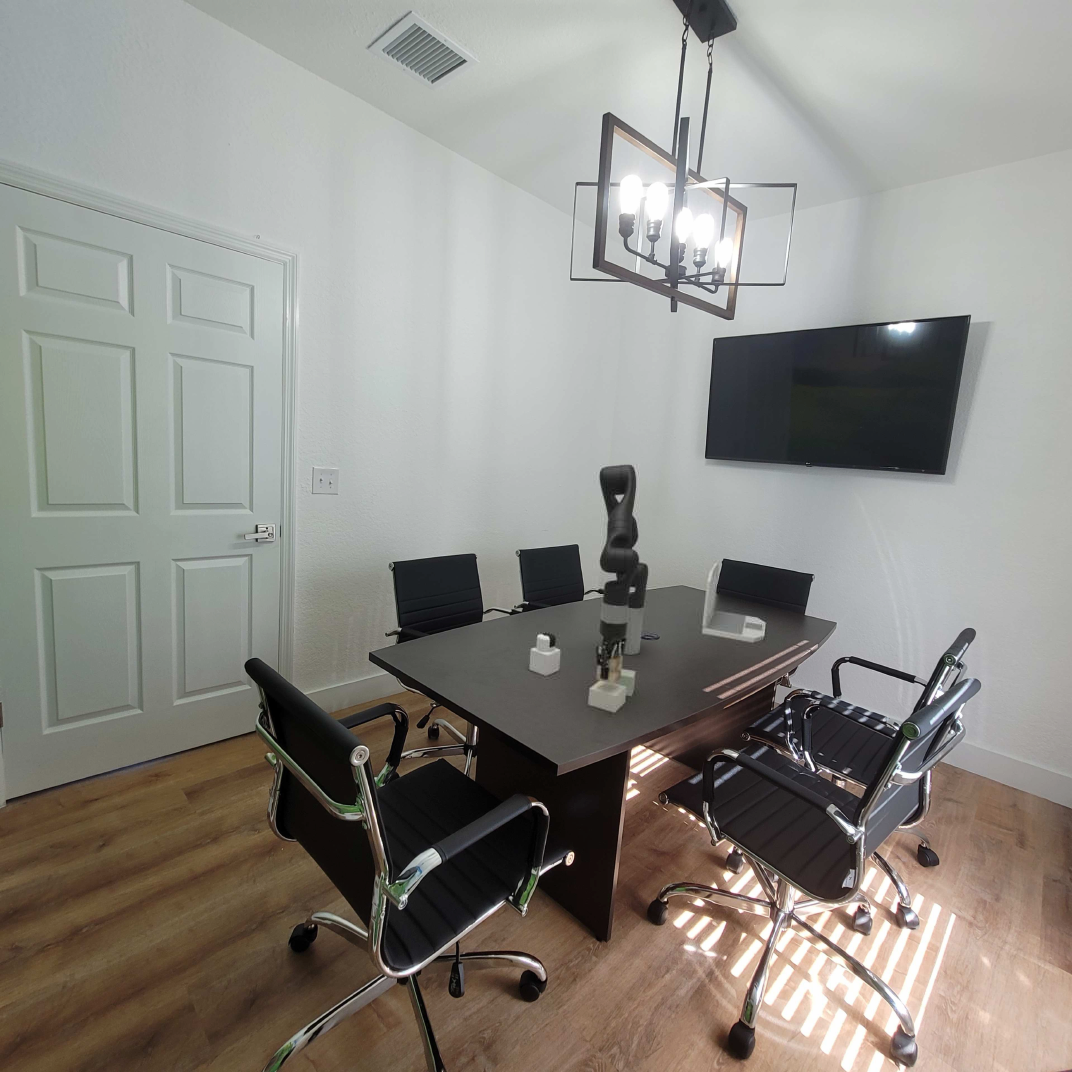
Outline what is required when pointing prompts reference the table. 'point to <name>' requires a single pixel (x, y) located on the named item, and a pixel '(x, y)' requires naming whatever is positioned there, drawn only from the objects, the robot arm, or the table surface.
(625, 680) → the sage block
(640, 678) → the table surface
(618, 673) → the maple block
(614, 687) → the cream base block
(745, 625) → the laptop
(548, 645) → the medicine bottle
